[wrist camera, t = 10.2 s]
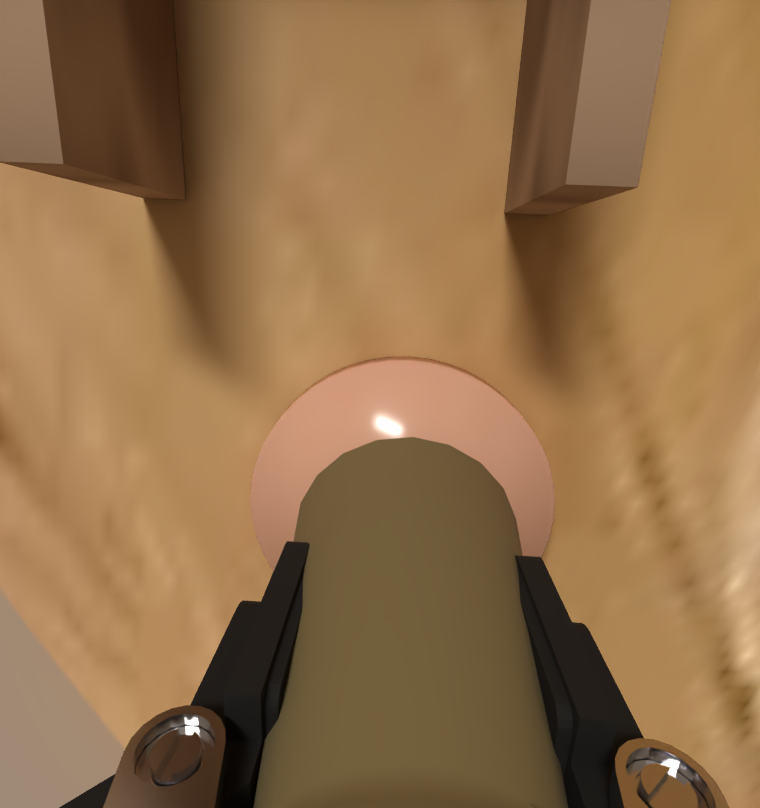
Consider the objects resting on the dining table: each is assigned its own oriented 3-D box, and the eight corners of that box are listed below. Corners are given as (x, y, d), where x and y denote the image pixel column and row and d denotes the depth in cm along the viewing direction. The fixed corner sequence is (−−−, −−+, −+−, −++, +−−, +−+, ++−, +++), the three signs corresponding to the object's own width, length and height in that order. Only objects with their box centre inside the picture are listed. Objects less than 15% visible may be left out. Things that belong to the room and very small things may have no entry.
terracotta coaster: (525, 623, 17) (532, 645, 16) (263, 606, 17) (255, 627, 16) (564, 364, 14) (577, 372, 13) (255, 349, 14) (245, 355, 13)
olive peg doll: (535, 612, 14) (988, 1792, 3) (330, 650, 14) (130, 1727, 4) (493, 412, 12) (1113, 1420, 2) (265, 466, 13) (-382, 1425, 2)
